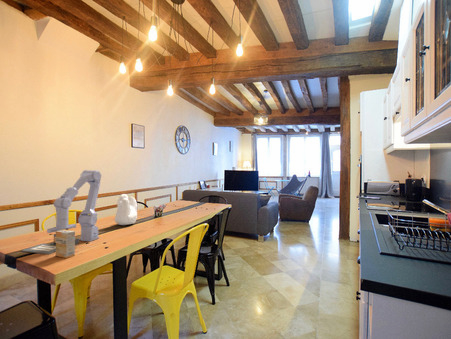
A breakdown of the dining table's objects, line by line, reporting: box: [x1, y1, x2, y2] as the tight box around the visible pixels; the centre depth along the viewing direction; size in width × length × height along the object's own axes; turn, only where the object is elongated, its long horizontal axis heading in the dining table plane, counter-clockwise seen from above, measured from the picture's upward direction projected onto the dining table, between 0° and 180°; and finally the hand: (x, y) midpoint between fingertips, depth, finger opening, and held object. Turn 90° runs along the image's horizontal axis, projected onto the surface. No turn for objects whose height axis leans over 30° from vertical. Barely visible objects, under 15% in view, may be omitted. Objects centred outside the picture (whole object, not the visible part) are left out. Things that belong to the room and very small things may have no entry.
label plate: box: [21, 243, 56, 255], centre depth 134 cm, size 18×12×1 cm, turn 78°
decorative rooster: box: [114, 193, 139, 226], centre depth 197 cm, size 25×16×25 cm, turn 159°
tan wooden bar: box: [53, 233, 80, 246], centre depth 140 cm, size 18×4×5 cm, turn 67°
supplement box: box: [55, 229, 76, 259], centre depth 125 cm, size 8×5×13 cm, turn 69°
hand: (62, 242), depth 137 cm, fingers closed
